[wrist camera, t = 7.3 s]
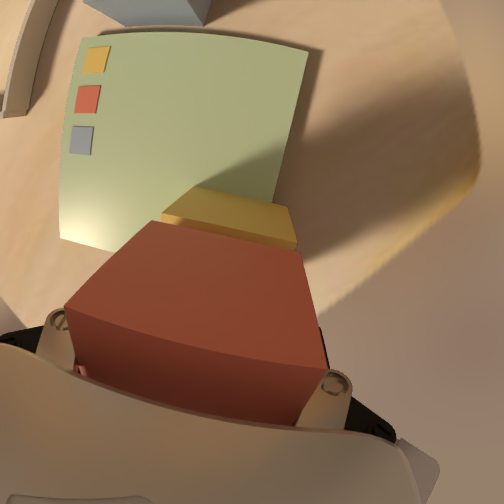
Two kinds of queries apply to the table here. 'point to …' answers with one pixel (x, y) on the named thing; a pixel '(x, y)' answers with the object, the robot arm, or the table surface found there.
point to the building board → (170, 126)
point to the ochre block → (233, 217)
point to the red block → (201, 325)
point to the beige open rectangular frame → (26, 58)
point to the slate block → (154, 11)
